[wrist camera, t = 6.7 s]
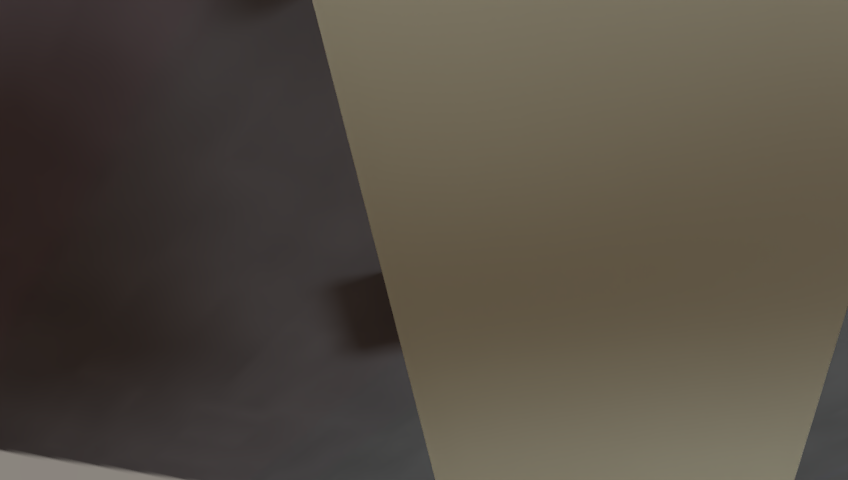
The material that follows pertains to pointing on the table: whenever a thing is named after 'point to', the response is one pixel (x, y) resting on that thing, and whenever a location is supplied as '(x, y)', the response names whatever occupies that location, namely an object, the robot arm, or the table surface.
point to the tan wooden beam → (604, 225)
